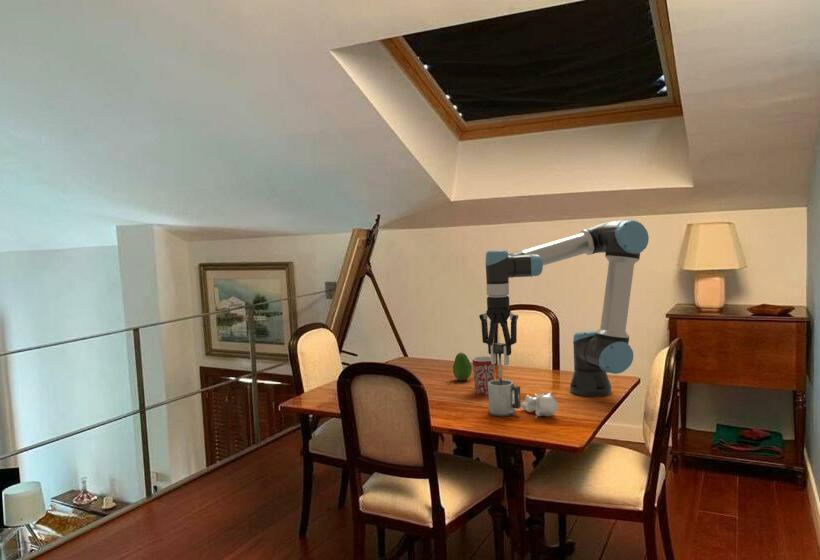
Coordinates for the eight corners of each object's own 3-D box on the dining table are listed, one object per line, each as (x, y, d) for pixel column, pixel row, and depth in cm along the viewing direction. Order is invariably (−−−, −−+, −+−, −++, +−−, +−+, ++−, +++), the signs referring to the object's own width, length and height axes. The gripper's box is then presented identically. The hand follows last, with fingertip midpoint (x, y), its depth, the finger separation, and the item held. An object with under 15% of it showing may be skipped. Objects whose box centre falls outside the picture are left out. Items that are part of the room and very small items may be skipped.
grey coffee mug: (524, 411, 212) (523, 381, 211) (514, 418, 204) (513, 387, 203) (494, 408, 217) (493, 378, 217) (484, 415, 209) (483, 384, 209)
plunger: (511, 392, 212) (510, 343, 211) (506, 396, 207) (504, 345, 206) (496, 391, 215) (494, 342, 213) (490, 395, 210) (488, 345, 208)
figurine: (528, 385, 216) (553, 385, 202) (542, 398, 217) (568, 399, 204) (512, 409, 212) (536, 411, 198) (527, 422, 214) (552, 425, 200)
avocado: (452, 382, 258) (451, 354, 257) (454, 378, 265) (453, 350, 264) (471, 382, 256) (470, 354, 255) (472, 378, 264) (471, 350, 263)
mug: (499, 394, 235) (498, 359, 234) (475, 396, 234) (474, 361, 233) (491, 386, 248) (490, 353, 247) (469, 388, 247) (468, 355, 246)
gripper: (525, 295, 207) (527, 363, 209) (479, 294, 216) (481, 360, 217) (518, 297, 201) (520, 368, 202) (470, 296, 209) (472, 364, 211)
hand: (500, 363), depth 210 cm, fingers closed on plunger, 4 cm apart
